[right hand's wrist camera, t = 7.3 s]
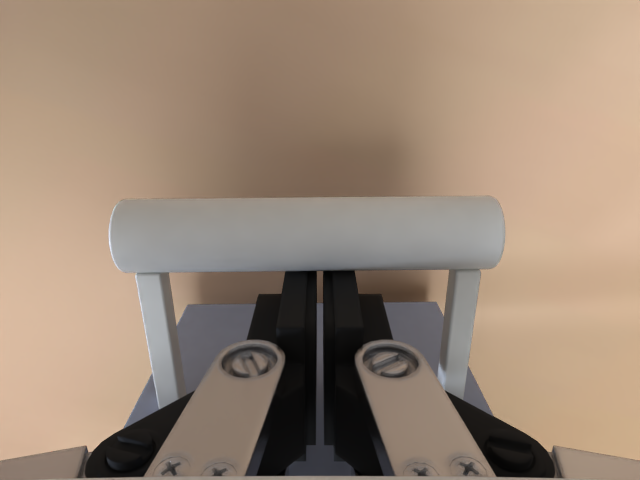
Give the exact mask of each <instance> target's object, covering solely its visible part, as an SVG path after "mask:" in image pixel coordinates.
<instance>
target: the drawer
mask: <svg viewBox="0 0 640 480" xmlns="http://www.w3.org/2000/svg"><path fill="white" fill-rule="evenodd" d="M504 243H505V222H504V216H503V212H502V208H501V206H500V204H499V202H498V201H497V199H496V198H494V197H492V196H399V197H289V198H178V199H123V200H121V201H119V202H118V203H117V204H116V206H115V207H114V209H113V212H112V215H111V219H110V224H109V245H110V251H111V255H112V258H113V261H114V263H115V265H116V266H117V268H118V269H119V270H121V271H123V272H125V273H137V274H136V276H135V277H136V283H137V288H138V294H139V299H140V305H141V311H142V316H143V322H144V328H145V333H146V339H147V345H148V350H149V356H150V362H151V367H152V374H151V376H150V378H149V380H148V382H147V384H146V386H145V388H144V390H143V392H142V394H141V396H140V398H139V399H138V401H137V403H136V405H135V407H134V409H133V411H132V413H131V415H130V417H129V419H128V421H127V423H126V425H125V426H124V428H126V427H128V426H129V425H131V424H133V423H135V422H137V421H139V420H141V419H142V418H144V417H146V416H148V415H150V414H152V413H154V412H155V411H157V410H159V409H161V408H163V407H165V406H167V405H169V404H170V403H172V402H174V401H176V400H178V399H180V398H182V397H183V396H185V395H187V394H189V393H191V392H193V391H195V390H196V389H197V387H198V385H199V384H200V382H201V380H202V379H203V377H204V375H205V374H206V372H207V370H208V369H209V367H210V365H211V364H212V362H213V360H214V359H215V357H216V356H217V355H218V353H219V352H220V351H221V350H222V349H224V348H226V347H227V346H229V345H231V344H234V343H236V342H239V341H245V340H247V336H248V332H249V329H250V325H251V321H252V317H253V313H254V310H255V306H256V304H189V305H187V307H186V309H185V311H184V313H183V315H182V317H181V319H180V320H179V322H178V324H177V326H176V320H175V313H174V306H173V299H172V292H171V285H170V278H169V272H252V271H349V270H447V269H449V277H448V286H447V295H446V304H445V313H444V316H443V314H442V312H441V310H440V308H439V306H438V304H437V302H384V306H385V310H386V314H387V317H388V321H389V325H390V329H391V333H392V336H393V340H395V341H401V342H404V343H406V344H409V345H411V346H413V347H414V348H416V349H418V350H419V351H420V352H421V353H422V355H423V356H424V357H425V359H426V360H427V362H428V364H429V365H430V367H431V369H432V370H433V372H434V374H435V375H436V377H437V379H438V380H439V382H440V384H441V385H442V387H443V389H444V390H445V391H447V392H449V393H451V394H453V395H455V396H457V397H458V398H460V399H462V400H464V401H466V402H468V403H470V404H471V405H473V406H475V407H477V408H479V409H481V410H483V411H484V412H486V413H488V414H490V415H492V416H493V414H492V412H491V410H490V408H489V406H488V404H487V402H486V400H485V398H484V396H483V394H482V392H481V390H480V388H479V386H478V384H477V382H476V380H475V378H474V376H473V374H472V372H471V370H470V368H469V366H468V361H469V354H470V347H471V340H472V333H473V326H474V319H475V312H476V305H477V297H478V290H479V283H480V276H481V271H480V270H479V269H491V268H494V267H495V266H497V264H498V263H499V261H500V259H501V257H502V254H503V250H504ZM124 428H123V429H124ZM289 476H351V466H350V465H349V464H348V463H347V462H334V449H333V445H324V390H323V303H317V384H316V445H307V447H306V461H295V462H293V463H292V464H291V465H289Z"/></svg>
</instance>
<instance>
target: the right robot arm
mask: <svg viewBox="0 0 640 480" xmlns="http://www.w3.org/2000/svg"><path fill="white" fill-rule="evenodd" d="M316 384H317V271H285V277H284V283H283V289H282V294H259V295H258V298H257V302H256V306H255V310H254V313H253V317H252V321H251V325H250V329H249V332H248V336H247V340H245V341H239V342H236V343H234V344H231V345H229V346H227V347H226V348H224V349H222V350H221V351H220V352H219V353H218V355H217V356H216V357H215V359H214V360H213V362H212V364H211V365H210V367H209V369H208V370H207V372H206V374H205V375H204V377H203V379H202V380H201V382H200V384H199V385H198V387H197V389H196V390H195V391H193V392H191V393H189V394H187V395H185V396H183V397H182V398H180V399H178V400H176V401H174V402H172V403H170V404H169V405H167V406H165V407H163V408H161V409H159V410H157V411H155V412H154V413H152V414H150V415H148V416H146V417H144V418H142V419H141V420H139V421H137V422H135V423H133V424H131V425H129V426H128V427H126V428H124V429H122V430H120V431H118V432H116V433H115V434H113V435H112V436H110V437H109V438H107V439H106V440H104V441H103V442H101V443H100V444H99V446H98V447H97V448H96V449H95V450H94V451H93V452H88V450H87V446H81V447H75V448H70V449H64V450H58V451H53V452H47V453H41V454H36V455H30V456H24V457H19V458H13V459H7V460H2V461H0V480H640V461H638V460H633V459H627V458H621V457H616V456H610V455H604V454H599V453H593V452H587V451H582V450H576V449H570V448H565V447H559V446H553V450H552V452H547V451H546V450H545V449H544V448H543V447H542V446H541V445H540V444H539V443H538V442H537V441H536V440H534V439H533V438H531V437H530V436H528V435H527V434H525V433H523V432H522V431H520V430H518V429H516V428H514V427H512V426H510V425H509V424H507V423H505V422H503V421H501V420H499V419H497V418H496V417H494V416H492V415H490V414H488V413H486V412H484V411H483V410H481V409H479V408H477V407H475V406H473V405H471V404H470V403H468V402H466V401H464V400H462V399H460V398H458V397H457V396H455V395H453V394H451V393H449V392H447V391H445V390H444V389H443V387H442V385H441V384H440V382H439V380H438V379H437V377H436V375H435V374H434V372H433V370H432V369H431V367H430V365H429V364H428V362H427V360H426V359H425V357H424V356H423V355H422V353H421V352H420V351H419V350H418V349H416V348H414V347H413V346H411V345H409V344H406V343H404V342H401V341H395V340H393V336H392V333H391V329H390V325H389V321H388V317H387V314H386V310H385V306H384V302H383V299H382V296H381V294H358V289H357V283H356V277H355V271H354V270H349V271H323V390H324V445H333V449H334V462H347V463H348V464H349V465H350V466H351V476H289V465H291V464H292V463H293V462H295V461H306V447H307V445H316Z"/></svg>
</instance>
